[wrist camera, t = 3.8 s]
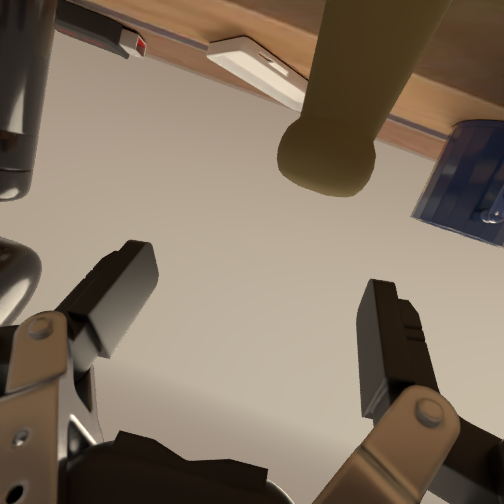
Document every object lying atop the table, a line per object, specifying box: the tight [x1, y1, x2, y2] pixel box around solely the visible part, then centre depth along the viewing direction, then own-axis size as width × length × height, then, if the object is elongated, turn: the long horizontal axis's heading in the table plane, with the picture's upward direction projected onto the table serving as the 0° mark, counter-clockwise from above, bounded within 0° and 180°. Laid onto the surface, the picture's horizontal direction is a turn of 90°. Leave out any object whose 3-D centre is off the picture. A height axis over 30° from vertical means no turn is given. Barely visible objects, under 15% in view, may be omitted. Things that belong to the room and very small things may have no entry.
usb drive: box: [55, 0, 147, 59], centre depth 38 cm, size 5×12×3 cm, turn 88°
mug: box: [411, 120, 504, 248], centre depth 30 cm, size 13×9×10 cm
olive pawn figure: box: [277, 0, 453, 197], centre depth 16 cm, size 6×6×11 cm
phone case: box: [206, 37, 308, 112], centre depth 35 cm, size 7×1×15 cm
